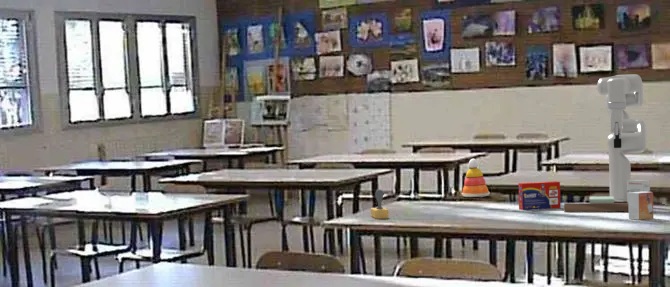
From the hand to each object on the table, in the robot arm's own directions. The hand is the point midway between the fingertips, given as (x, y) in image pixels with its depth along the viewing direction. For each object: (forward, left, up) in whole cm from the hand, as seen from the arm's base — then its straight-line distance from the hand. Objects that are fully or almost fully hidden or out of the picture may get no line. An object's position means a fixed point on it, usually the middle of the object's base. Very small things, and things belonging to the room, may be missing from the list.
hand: (617, 147), depth 433 cm
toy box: (+12, -34, -26) cm, 44 cm away
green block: (+18, -7, -26) cm, 33 cm away
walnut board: (+25, -9, -26) cm, 37 cm away
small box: (+51, +7, -26) cm, 58 cm away
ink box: (+7, +8, -26) cm, 28 cm away
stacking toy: (-46, -69, -26) cm, 87 cm away
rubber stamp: (+45, -99, -26) cm, 112 cm away
